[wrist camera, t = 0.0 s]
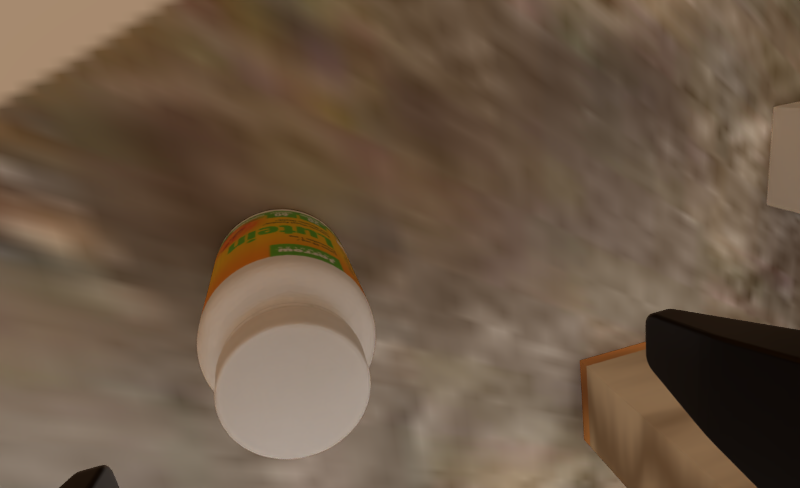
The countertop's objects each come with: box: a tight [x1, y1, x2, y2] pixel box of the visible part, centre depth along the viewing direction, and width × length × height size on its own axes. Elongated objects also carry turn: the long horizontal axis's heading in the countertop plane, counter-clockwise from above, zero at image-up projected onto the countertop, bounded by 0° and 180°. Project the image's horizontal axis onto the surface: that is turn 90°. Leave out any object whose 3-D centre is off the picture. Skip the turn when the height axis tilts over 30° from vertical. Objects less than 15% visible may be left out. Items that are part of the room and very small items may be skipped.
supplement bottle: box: [197, 209, 376, 459], centre depth 18 cm, size 5×5×10 cm
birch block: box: [580, 342, 757, 488], centre depth 25 cm, size 5×5×10 cm
